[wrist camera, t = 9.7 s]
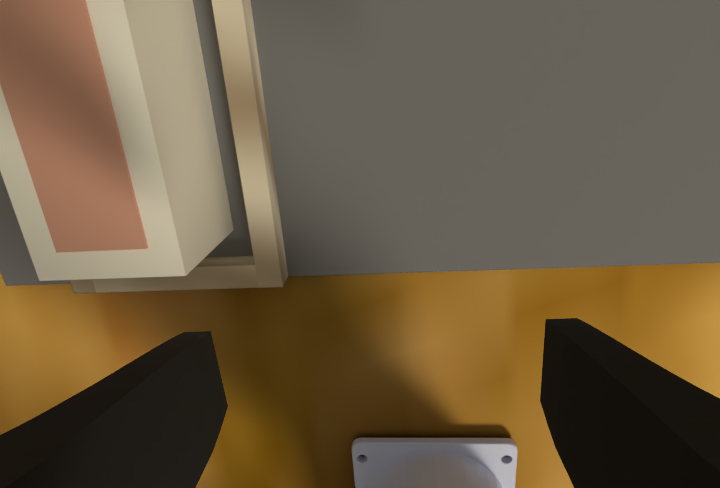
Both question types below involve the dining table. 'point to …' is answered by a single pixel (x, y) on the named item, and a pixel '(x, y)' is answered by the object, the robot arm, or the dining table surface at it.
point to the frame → (254, 173)
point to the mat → (473, 135)
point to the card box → (109, 138)
